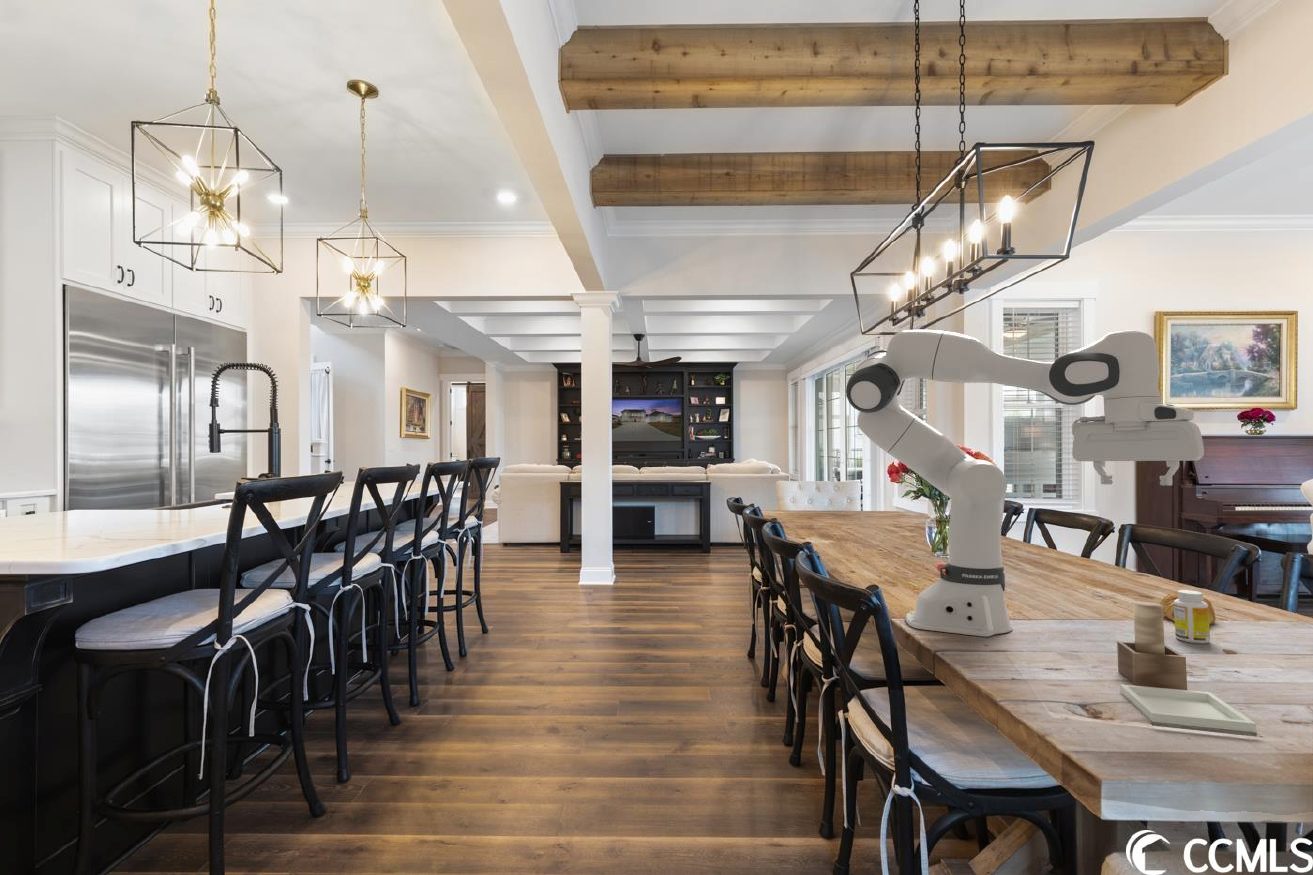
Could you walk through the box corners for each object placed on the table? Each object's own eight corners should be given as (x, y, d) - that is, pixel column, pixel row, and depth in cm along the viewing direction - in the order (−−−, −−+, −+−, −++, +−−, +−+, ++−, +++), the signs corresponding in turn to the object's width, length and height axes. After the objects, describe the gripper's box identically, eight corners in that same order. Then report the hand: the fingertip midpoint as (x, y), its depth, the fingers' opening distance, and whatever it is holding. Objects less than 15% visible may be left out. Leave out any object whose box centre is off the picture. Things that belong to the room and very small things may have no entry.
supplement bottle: (1212, 640, 129) (1210, 592, 129) (1207, 646, 125) (1204, 596, 126) (1178, 635, 133) (1176, 588, 134) (1172, 640, 130) (1170, 591, 130)
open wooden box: (1135, 689, 103) (1133, 653, 103) (1118, 674, 110) (1117, 641, 110) (1187, 693, 101) (1185, 657, 101) (1166, 678, 107) (1165, 644, 108)
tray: (1153, 725, 89) (1152, 713, 89) (1120, 695, 100) (1119, 684, 100) (1256, 736, 85) (1256, 723, 85) (1210, 703, 97) (1210, 692, 97)
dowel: (1142, 683, 104) (1138, 606, 104) (1132, 675, 108) (1129, 601, 108) (1170, 685, 103) (1167, 607, 103) (1160, 677, 106) (1156, 602, 107)
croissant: (1207, 647, 136) (1228, 618, 134) (1154, 620, 141) (1174, 591, 139) (1199, 624, 152) (1218, 598, 150) (1153, 600, 158) (1170, 575, 156)
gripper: (1065, 416, 125) (1068, 484, 125) (1194, 409, 109) (1198, 486, 108) (1077, 417, 129) (1080, 483, 128) (1204, 410, 112) (1208, 485, 112)
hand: (1135, 484), depth 118 cm, fingers open, 8 cm apart
